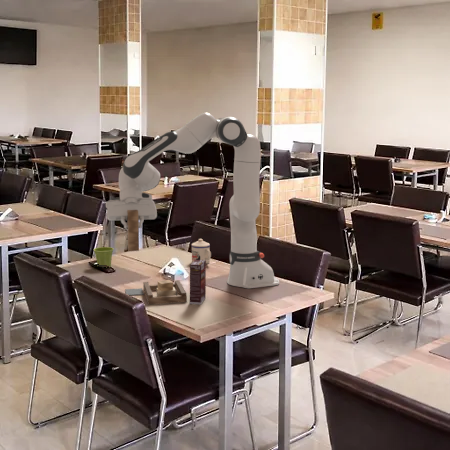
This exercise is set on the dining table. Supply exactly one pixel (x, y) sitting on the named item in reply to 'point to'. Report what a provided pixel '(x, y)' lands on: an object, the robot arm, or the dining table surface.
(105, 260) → the plant pot
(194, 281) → the supplement box
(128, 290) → the mat
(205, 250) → the teacup with lid
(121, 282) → the dining table surface
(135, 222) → the slat
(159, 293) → the offcut low
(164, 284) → the offcut top
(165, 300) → the tray
